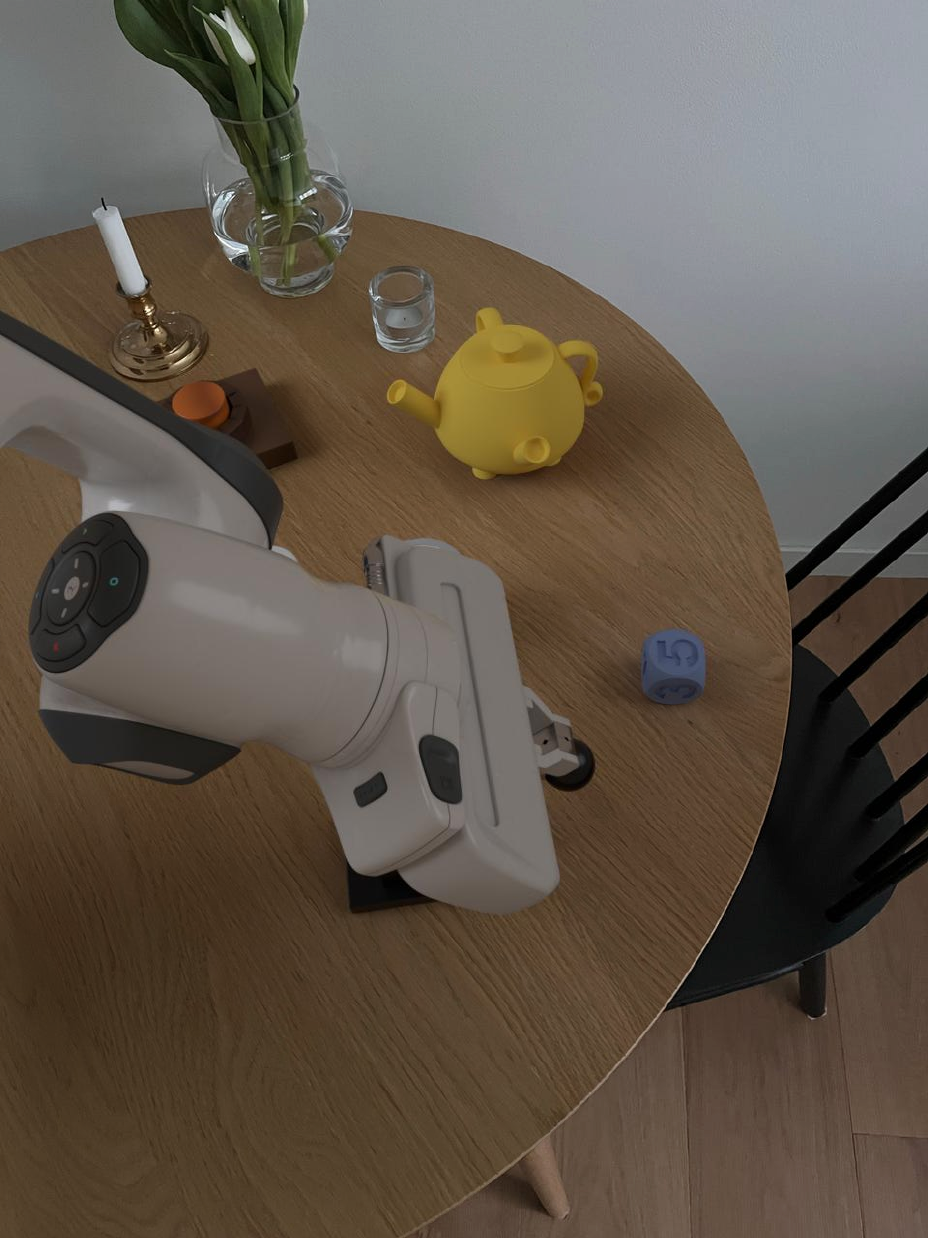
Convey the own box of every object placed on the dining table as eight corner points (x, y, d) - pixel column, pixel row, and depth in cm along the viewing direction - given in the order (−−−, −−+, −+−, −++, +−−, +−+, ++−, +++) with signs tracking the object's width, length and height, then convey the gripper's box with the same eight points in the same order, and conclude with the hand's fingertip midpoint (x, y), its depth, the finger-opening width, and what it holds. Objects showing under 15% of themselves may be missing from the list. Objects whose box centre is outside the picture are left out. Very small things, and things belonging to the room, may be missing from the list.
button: (186, 440, 88) (180, 425, 86) (171, 406, 90) (165, 391, 89) (236, 422, 89) (231, 407, 87) (220, 389, 91) (215, 374, 90)
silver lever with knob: (588, 748, 65) (590, 724, 62) (599, 796, 63) (601, 773, 60) (378, 781, 65) (371, 758, 62) (383, 830, 63) (376, 808, 60)
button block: (163, 507, 89) (149, 475, 85) (132, 429, 94) (118, 396, 90) (297, 458, 91) (289, 425, 88) (260, 385, 96) (251, 351, 93)
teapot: (391, 465, 90) (377, 366, 81) (474, 367, 96) (469, 265, 87) (539, 531, 85) (542, 435, 76) (616, 423, 92) (627, 322, 82)
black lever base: (473, 796, 73) (467, 713, 63) (489, 894, 69) (484, 822, 59) (343, 814, 73) (316, 734, 63) (351, 914, 69) (323, 845, 59)
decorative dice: (640, 657, 78) (645, 628, 75) (694, 658, 78) (702, 628, 75) (643, 704, 76) (649, 676, 73) (699, 705, 76) (707, 677, 73)
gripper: (327, 556, 60) (501, 626, 68) (355, 906, 49) (559, 939, 57) (397, 493, 56) (571, 576, 65) (445, 856, 45) (649, 899, 54)
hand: (566, 749), depth 61 cm, fingers closed, pressing on silver lever with knob
